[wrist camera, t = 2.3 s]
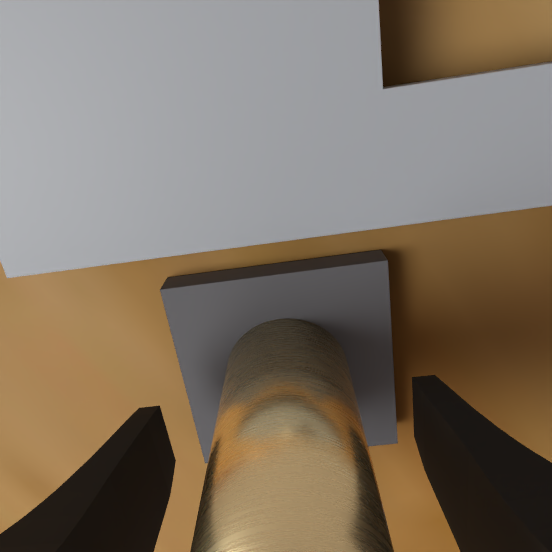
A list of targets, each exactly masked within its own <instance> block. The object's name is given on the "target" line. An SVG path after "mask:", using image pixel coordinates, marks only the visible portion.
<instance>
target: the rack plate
mask: <svg viewBox="0 0 552 552" xmlns="http://www.w3.org/2000/svg"><path fill="white" fill-rule="evenodd" d="M551 205H552V61H551V62H544V63H538V64H531V65H525V66H518V67H512V68H505V69H499V70H492V71H485V72H479V73H472V74H466V75H459V76H453V77H446V78H440V79H433V80H426V81H420V82H413V83H407V84H400V85H394V86H387V87H383V80H382V60H381V40H380V20H379V1H378V0H0V261H1V263H2V266H3V269H4V271H5V274H6V276H7V278H11V277H19V276H26V275H34V274H41V273H49V272H56V271H64V270H71V269H79V268H86V267H94V266H101V265H109V264H116V263H124V262H131V261H139V260H146V259H154V258H161V257H169V256H176V255H184V254H191V253H199V252H206V251H214V250H221V249H229V248H236V247H244V246H251V245H259V244H266V243H274V242H281V241H289V240H296V239H304V238H311V237H319V236H326V235H334V234H341V233H349V232H356V231H364V230H371V229H379V228H386V227H394V226H401V225H409V224H416V223H424V222H431V221H439V220H446V219H454V218H461V217H469V216H476V215H484V214H491V213H499V212H506V211H514V210H521V209H529V208H536V207H544V206H551Z"/></svg>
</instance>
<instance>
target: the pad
mask: <svg viewBox="0 0 552 552" xmlns="http://www.w3.org/2000/svg"><path fill="white" fill-rule="evenodd" d="M160 292H161V295H162V299H163V303H164V307H165V311H166V315H167V319H168V322H169V326H170V330H171V334H172V338H173V342H174V345H175V349H176V353H177V357H178V361H179V365H180V368H181V372H182V376H183V380H184V384H185V388H186V391H187V395H188V399H189V403H190V407H191V411H192V415H193V418H194V422H195V426H196V430H197V434H198V438H199V441H200V445H201V449H202V453H203V457H204V461H205V463H208V461H209V455H210V450H211V445H212V440H213V435H214V430H215V425H216V420H217V415H218V410H219V405H220V400H221V395H222V390H223V385H224V379H225V374H226V369H227V364H228V359H229V356H230V353H231V351H232V349H233V347H234V345H235V344H236V343H237V341H238V340H239V339H240V338H241V337H242V336H243V335H244V334H245V333H246V332H247V331H249V330H250V329H252V328H253V327H255V326H257V325H259V324H262V323H264V322H267V321H270V320H276V319H285V318H289V319H299V320H305V321H308V322H311V323H314V324H316V325H318V326H320V327H322V328H323V329H325V330H326V331H328V332H329V333H330V334H331V335H332V336H333V337H334V338H335V339H336V340H337V341H338V343H339V344H340V345H341V347H342V349H343V351H344V353H345V356H346V360H347V364H348V368H349V372H350V376H351V380H352V384H353V388H354V392H355V396H356V400H357V404H358V408H359V412H360V416H361V420H362V424H363V428H364V433H365V437H366V441H367V445H368V446H376V445H386V444H395V443H398V441H397V422H396V404H395V385H394V366H393V348H392V329H391V310H390V292H389V273H388V260H387V258H386V257H385V255H384V254H383V252H382V251H381V250H375V251H367V252H360V253H352V254H344V255H337V256H329V257H321V258H314V259H306V260H298V261H291V262H283V263H275V264H268V265H260V266H252V267H245V268H237V269H229V270H222V271H214V272H206V273H199V274H191V275H183V276H176V277H168V278H167V279H166V281H165V282H164V284H163V286H162V287H161V289H160Z"/></svg>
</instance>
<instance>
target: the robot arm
mask: <svg viewBox="0 0 552 552" xmlns="http://www.w3.org/2000/svg"><path fill="white" fill-rule="evenodd" d="M412 388H413V416H414V437H415V440H416V443H417V447H418V450H419V453H420V457H421V460H422V463H423V466H424V469H425V472H426V474H427V476H428V479H429V481H430V483H431V486H432V488H433V490H434V492H435V495H436V497H437V499H438V502H439V504H440V506H441V508H442V511H443V513H444V515H445V517H446V520H447V522H448V524H449V526H450V529H451V531H452V533H453V535H454V538H455V540H456V542H457V544H458V547H459V549H460V551H461V552H552V463H551V462H550V461H548V460H546V459H545V458H543V457H541V456H540V455H538V454H536V453H535V452H533V451H531V450H530V449H528V448H527V447H525V446H524V445H522V444H521V443H519V442H518V441H516V440H515V439H514V438H512V437H511V436H509V435H508V434H506V433H505V432H504V431H502V430H501V429H499V428H498V427H497V426H495V425H494V424H493V423H492V422H490V421H489V420H488V419H487V418H485V417H484V416H483V415H481V414H480V413H479V412H478V411H476V410H475V409H474V408H473V407H471V406H470V405H469V404H468V403H467V402H466V401H464V400H463V399H462V398H461V397H460V396H458V395H457V394H456V393H455V392H454V391H453V390H452V389H450V388H449V387H448V386H447V385H446V384H445V383H444V382H442V381H441V380H440V379H439V378H438V377H436V376H435V375H429V376H420V377H412ZM175 461H176V460H175V457H174V453H173V450H172V446H171V443H170V440H169V436H168V433H167V429H166V426H165V422H164V419H163V416H162V412H161V409H160V406H153V407H144V408H139V409H138V410H137V411H136V412H135V413H134V414H133V415H132V416H131V417H130V418H129V419H128V420H127V421H126V422H125V423H124V424H123V425H122V426H121V427H120V428H119V429H118V430H117V431H116V432H115V433H114V434H113V435H112V436H111V437H110V438H109V439H108V440H107V442H106V443H105V444H104V445H103V446H102V447H101V448H100V449H99V450H98V451H97V452H96V453H95V454H94V455H93V456H92V457H91V458H90V459H89V460H88V461H87V462H86V463H85V464H84V465H83V466H81V467H80V468H79V469H78V470H77V471H76V472H75V473H74V474H73V475H72V476H71V477H70V478H69V479H68V480H67V481H66V482H65V483H63V484H62V485H61V486H60V487H59V488H58V489H57V490H56V491H55V492H53V493H52V494H51V495H50V496H49V497H48V498H46V499H45V500H44V501H43V502H42V503H40V504H39V505H38V506H37V507H35V508H34V509H33V510H32V511H31V512H29V513H28V514H27V515H26V516H24V517H23V518H22V519H20V520H19V521H18V522H16V523H15V524H14V525H12V526H11V527H9V528H8V529H7V530H5V531H4V532H3V533H1V534H0V552H154V548H155V545H156V542H157V538H158V535H159V532H160V528H161V525H162V522H163V518H164V515H165V511H166V508H167V504H168V501H169V497H170V493H171V487H172V481H173V475H174V468H175Z"/></svg>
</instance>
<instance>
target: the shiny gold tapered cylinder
mask: <svg viewBox="0 0 552 552" xmlns="http://www.w3.org/2000/svg"><path fill="white" fill-rule="evenodd" d="M191 552H394V550H393V546H392V542H391V538H390V534H389V530H388V526H387V522H386V518H385V514H384V510H383V505H382V501H381V497H380V493H379V489H378V485H377V481H376V477H375V473H374V469H373V465H372V461H371V457H370V453H369V449H368V445H367V441H366V437H365V433H364V428H363V424H362V420H361V416H360V412H359V408H358V404H357V400H356V396H355V392H354V388H353V384H352V380H351V376H350V372H349V368H348V364H347V360H346V356H345V353H344V351H343V349H342V347H341V345H340V344H339V343H338V341H337V340H336V339H335V338H334V337H333V336H332V335H331V334H330V333H329V332H328V331H326V330H325V329H323V328H322V327H320V326H318V325H316V324H314V323H311V322H308V321H305V320H299V319H289V318H285V319H276V320H270V321H267V322H264V323H262V324H259V325H257V326H255V327H253V328H252V329H250V330H249V331H247V332H246V333H245V334H244V335H243V336H242V337H241V338H240V339H239V340H238V341H237V343H236V344H235V345H234V347H233V349H232V351H231V353H230V356H229V359H228V364H227V369H226V374H225V379H224V385H223V390H222V395H221V400H220V405H219V410H218V415H217V420H216V425H215V430H214V435H213V440H212V445H211V450H210V455H209V461H208V466H207V471H206V476H205V481H204V486H203V491H202V496H201V501H200V506H199V511H198V516H197V521H196V526H195V531H194V537H193V542H192V547H191Z"/></svg>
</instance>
